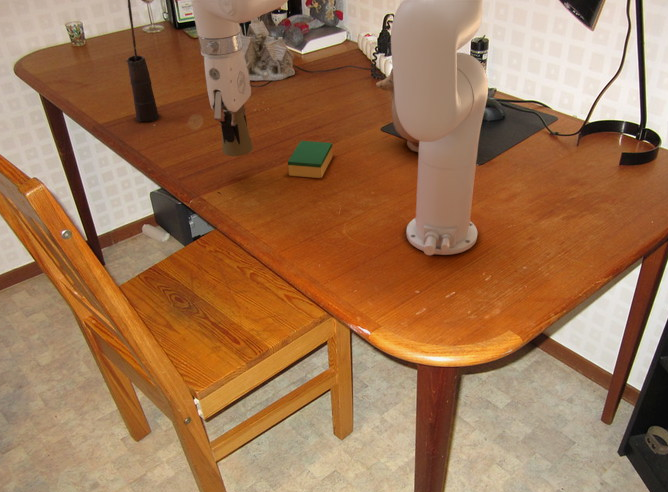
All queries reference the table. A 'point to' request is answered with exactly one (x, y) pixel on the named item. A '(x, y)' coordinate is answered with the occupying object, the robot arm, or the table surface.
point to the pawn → (245, 140)
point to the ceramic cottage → (265, 54)
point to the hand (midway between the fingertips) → (236, 138)
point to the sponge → (310, 159)
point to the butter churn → (141, 83)
